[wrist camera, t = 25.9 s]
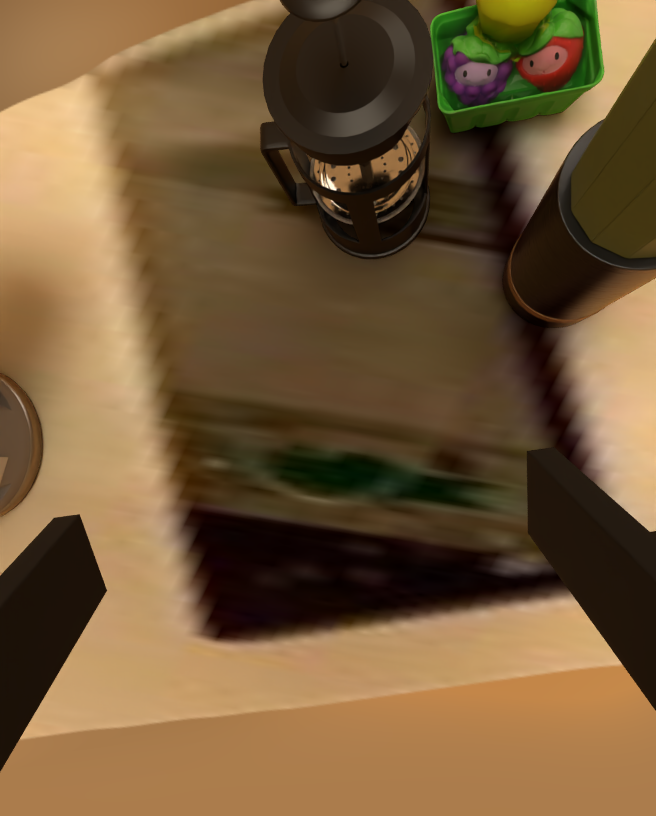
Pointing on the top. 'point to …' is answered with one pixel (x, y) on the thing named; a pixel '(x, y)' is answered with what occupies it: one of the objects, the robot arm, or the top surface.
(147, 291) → the top surface
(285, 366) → the top surface
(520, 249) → the flask
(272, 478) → the top surface
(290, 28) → the french press
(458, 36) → the fruit basket
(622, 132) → the olive tea canister
